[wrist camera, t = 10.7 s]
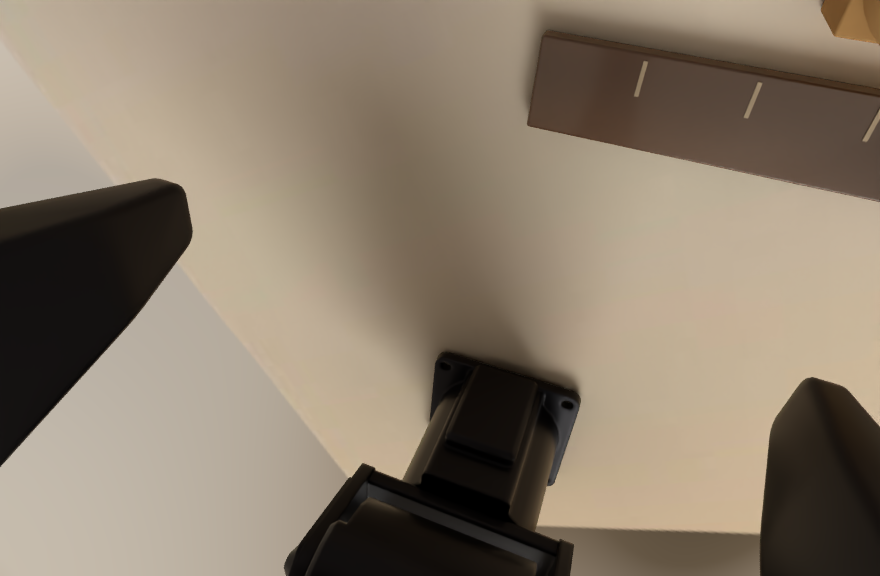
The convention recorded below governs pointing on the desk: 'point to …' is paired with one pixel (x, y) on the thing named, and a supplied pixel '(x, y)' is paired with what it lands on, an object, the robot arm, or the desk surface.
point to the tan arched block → (853, 19)
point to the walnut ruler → (711, 112)
